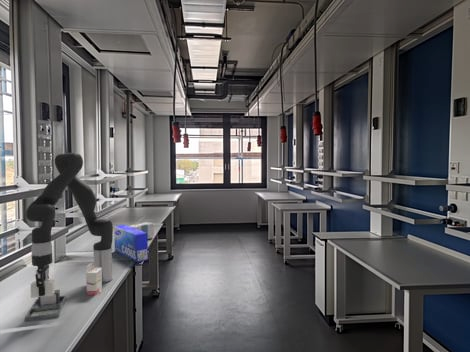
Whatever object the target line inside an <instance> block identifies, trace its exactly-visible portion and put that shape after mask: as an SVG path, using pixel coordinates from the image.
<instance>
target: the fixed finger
mask: <svg viewBox="0 0 470 352" xmlns="http://www.w3.org/2000/svg"><path fill="white" fill-rule="evenodd" d="M60 296H61V289H55V293H54V295H53V296H44V297H37V299H38V306H40V305H48V304H57V303H60Z"/></svg>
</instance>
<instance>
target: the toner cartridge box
mask: <svg viewBox="0 0 470 352" xmlns="http://www.w3.org/2000/svg"><path fill="white" fill-rule="evenodd" d="M129 226H130V225H126V224H121V225H115V226H113V237H114V239H113V240H114V243H113V244H114V251H115V252H116V253H118V254H120V255H122V256H124V257H126V258H128V259H130V260H131V261H132V262H135V263H142V262H146V261H149V247H148V246H149V244H148V240H149V239H147V233H145V232H143V231H140V230H137V229H135V228H132V227H129Z"/></svg>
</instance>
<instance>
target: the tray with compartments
mask: <svg viewBox="0 0 470 352" xmlns="http://www.w3.org/2000/svg"><path fill="white" fill-rule="evenodd" d="M66 300H67V295H60V303H57V304H48V305H40V306H38V298H36V299H35V300H34V302H33V304H32V306H31V307H30V308H29V310H28V311H27V314H25V317H24V322H30V321H39V320H47V319H54V318H59V317H60V315H61V312H62V310H63V308H64V305H65V302H66Z"/></svg>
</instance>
